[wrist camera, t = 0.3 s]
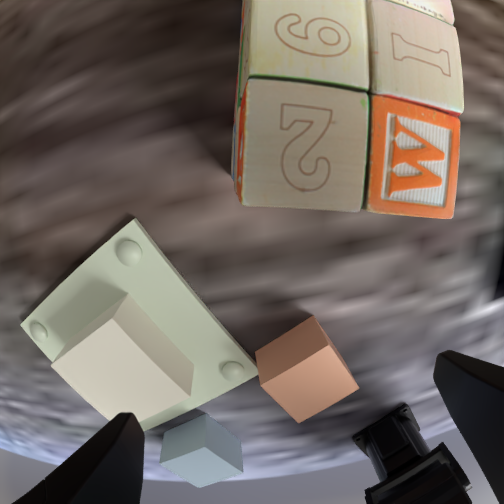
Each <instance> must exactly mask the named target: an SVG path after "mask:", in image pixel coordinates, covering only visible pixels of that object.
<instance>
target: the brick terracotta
mask: <svg viewBox="0 0 504 504" xmlns="http://www.w3.org/2000/svg"><path fill="white" fill-rule="evenodd" d="M255 355H256V362H257V368H258V374H259V381H260V386H261V387H262V388H263V389H264V390H265V391H266V392H267V393H268V394H269V395H270V396H271V397H272V398H273V399H274V400H275V401H276V402H277V403H278V404H279V405H280V406H281V407H282V408H283V409H284V410H285V411H286V412H287V413H288V414H289V415H291V416H292V417H293V418H294V419H295V420H296V421H297V422H298V423H300V422H302V421H304V420H306V419H308V418H310V417H311V416H313V415H315V414H317V413H319V412H320V411H322V410H324V409H326V408H328V407H329V406H331V405H333V404H335V403H336V402H338V401H340V400H341V399H343V398H345V397H346V396H348V395H350V394H351V393H353V392H354V391H356V390H358V389H359V387H358V385H357V383H356V381H355V379H354V378H353V376H352V374H351V372H350V370H349V368H348V367H347V365H346V363H345V361H344V359H343V358H342V356H341V355H340V353H339V352H338V350H337V349H336V347H335V346H334V345H333V343H332V342H331V340H330V339H329V337H328V336H327V334H326V333H325V331H324V330H323V329H322V327H321V326H320V324H319V323H318V321H317V320H316V318H315V317H314V315H313V316H311V317H310V318H308V319H307V320H305V321H304V322H302V323H300V324H299V325H297V326H296V327H294V328H293V329H291V330H290V331H288V332H286V333H285V334H283V335H282V336H280V337H278V338H277V339H275V340H273V341H272V342H270V343H269V344H267V345H265V346H264V347H262V348H260V349H259V350H257V351H255Z"/></svg>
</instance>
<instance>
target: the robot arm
mask: <svg viewBox="0 0 504 504" xmlns="http://www.w3.org/2000/svg"><path fill="white" fill-rule="evenodd" d="M433 378H434V382H435V384H436V386H437V388H438V390H439V392H440V394H441V396H442V398H443V401H444V403H445V405H446V407H447V409H448V411H449V413H450V415H451V417H452V419H453V421H454V423H455V424H456V426H457V428H458V429H459V431H460V433H461V434H462V436H463V437H464V439H465V441H466V443H467V444H468V446H469V448H470V450H471V451H472V453H473V455H474V457H475V459H476V460H477V462H478V464H479V466H480V467H481V469H482V471H483V473H484V475H485V477H486V479H487V480H488V482H489V484H490V486H491V488H492V490H493V492H494V494H495V496H496V498H497V500H498V502H499V504H504V367H501V366H498V365H495V364H492V363H489V362H486V361H482V360H479V359H476V358H473V357H470V356H467V355H464V354H461V353H458V352H455V351H452V350H447V351H444V352H442V353H439V354H438V356H437V358H436V363H435V368H434V373H433ZM419 431H420V427H419V425H418V423H417V421H416V419H415V417H414V415H413V413H412V411H411V409H410V408H409V406H408V405H407V404H404V405H402V406H401V407H400V408H398V409H397V410H395V411H394V412H392V413H390V414H389V415H387V416H386V417H384V418H383V419H381V420H380V421H378V422H376V423H375V424H373V425H371V426H370V427H368V428H366V429H365V430H363V431H361V432H360V433H358V434H356V435H355V436H353V441H354V442H355V444H356V445H357V446H358V447H359V448H360V449H361V450H362V451H363V452H364V453H365V454H366V455H367V456H368V457H369V458H370V460H371V462H372V464H373V466H374V469H375V471H376V473H377V475H378V478H379V480H380V483H379V484H376V485H375V486H373V487H371V488H370V487H369V488H367V489H365V494H366V496H365V500H366V503H367V504H472V501H471V499H470V498H469V496H468V494H467V493H466V492H467V491H468V490H470V489H471V488H472V486H471V483H470V482H469V479H468V478H467V476H466V474H465V473H464V471H463V469H462V468H461V467H460V465H459V463H458V462H457V461H456V459H455V458H454V457H453V455H452V454H451V452H450V451H449V450H448V448H447V447H446V445H445V444H444V443H443V442H442V443H440V444H439V445H438V446H437V447H436V448H435V449H433V450H432V451H431V450H430V449H429V447H428V445H427V444H426V442H425V441H424V439H423V437H422V436H421V434H420V433H419ZM144 442H145V435H144V431H143V429H142V427H141V425H140V424H139V422H138V420H137V418H136V416H135V415H134V413H132V412H120V413H118V414H117V415H116V416H115V417H114V418H113V419H112V420H110V421H109V422H108V423H107V424H106V425H105V426H104V427H103V428H102V429H100V430H99V431H98V432H97V433H96V434H95V435H94V436H93V437H91V438H90V439H89V440H88V441H87V442H86V443H85V444H84V445H82V446H81V447H80V448H79V449H78V450H77V451H76V452H74V453H73V454H72V455H71V456H70V457H69V458H68V459H66V460H65V461H64V462H63V463H62V464H61V465H60V466H58V467H57V468H56V469H55V470H54V471H53V472H51V473H50V474H49V475H48V476H47V477H46V478H45V480H42V481H41V482H40V483H38V484H37V485H36V486H35V487H34V488H32V489H31V490H30V491H29V492H27V493H26V494H25V495H24V496H22V497H21V498H19V499H18V500H16V501H15V502H13V503H12V504H140V497H141V490H142V483H143V466H144Z"/></svg>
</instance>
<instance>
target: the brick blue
mask: <svg viewBox="0 0 504 504" xmlns="http://www.w3.org/2000/svg"><path fill="white" fill-rule="evenodd" d="M159 464H160V465H162V466H163V467H165V468H166V469H168V470H170V471H171V472H173V473H174V474H176V475H178V476H179V477H181V478H182V479H184V480H186V481H188V482H189V483H191V484H193V485H194V486H196V487H198V488H200V487H203V486H207V485H210V484H213V483H216V482H219V481H222V480H225V479H228V478H231V477H233V476H236V475H239V474H242V473H243V461H242V448H241V441H240V440H239V439H238V438H237V437H235V436H234V435H233V434H231V433H230V432H229V431H228V430H226V429H225V428H224V427H223V426H221V425H220V424H219V423H218V422H216V421H215V420H214V419H213V418H212V417H210V416H209V415H208V414H207V413H205V414H203V415H201V416H199V417H197V418H195V419H193V420H190V421H188V422H186V423H184V424H182V425H179V426H177V427H175V428H172V429H170V430H168V431H166V432H164V437H163V443H162V449H161V455H160V462H159Z"/></svg>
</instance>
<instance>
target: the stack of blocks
mask: <svg viewBox="0 0 504 504" xmlns="http://www.w3.org/2000/svg"><path fill="white" fill-rule="evenodd" d="M454 20H455V19H454V14H453V8H452V4H451V0H243V2H242V18H241V30H240V49H239V65H238V75H237V82H236V96H235V112H234V127H233V138H232V158H231V178H232V180H233V181H234V189H235V192H236V194H237V195H238V197H239V201H240V203H241V204H242V205H243V206H256V207H282V208H300V209H317V210H331V211H344V212H359V211H360V209H363V210H366V211H369V212H374V213H381V214H393V215H405V216H416V217H428V218H440V219H451V218H452V217H453V214H454V206H455V198H456V188H457V177H458V164H459V154H460V121H459V118H458V117H459V115H460V114H461V113H462V112H463V110H464V99H463V79H462V68H461V58H460V50H459V43H458V37H457V32H456V28H455V27H454V26H452V25H453V23H454Z"/></svg>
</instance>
